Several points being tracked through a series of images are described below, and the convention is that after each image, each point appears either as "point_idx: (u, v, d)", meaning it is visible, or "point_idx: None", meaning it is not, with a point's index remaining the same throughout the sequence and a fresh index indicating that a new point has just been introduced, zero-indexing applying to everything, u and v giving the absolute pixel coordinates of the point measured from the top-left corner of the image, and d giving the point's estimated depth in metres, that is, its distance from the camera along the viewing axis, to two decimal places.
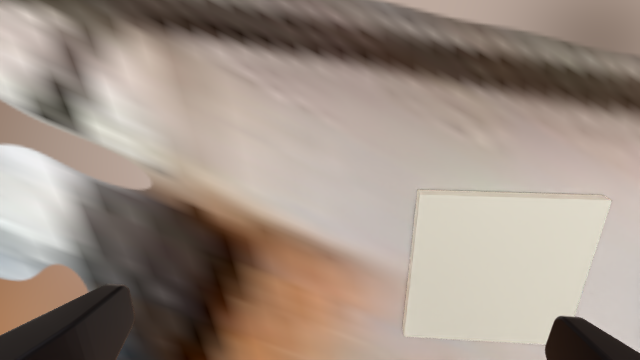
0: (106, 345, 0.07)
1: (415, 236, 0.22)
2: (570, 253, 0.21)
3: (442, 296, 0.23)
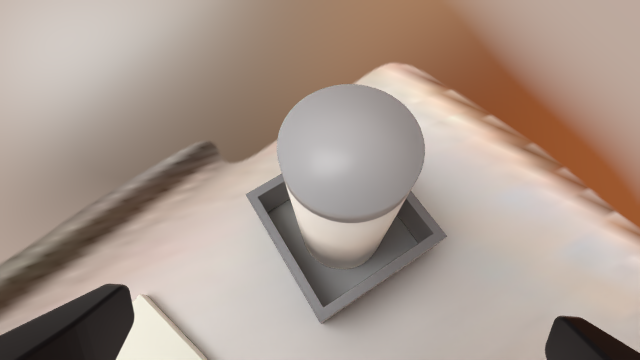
0: (106, 345, 0.07)
1: None
2: None
3: None
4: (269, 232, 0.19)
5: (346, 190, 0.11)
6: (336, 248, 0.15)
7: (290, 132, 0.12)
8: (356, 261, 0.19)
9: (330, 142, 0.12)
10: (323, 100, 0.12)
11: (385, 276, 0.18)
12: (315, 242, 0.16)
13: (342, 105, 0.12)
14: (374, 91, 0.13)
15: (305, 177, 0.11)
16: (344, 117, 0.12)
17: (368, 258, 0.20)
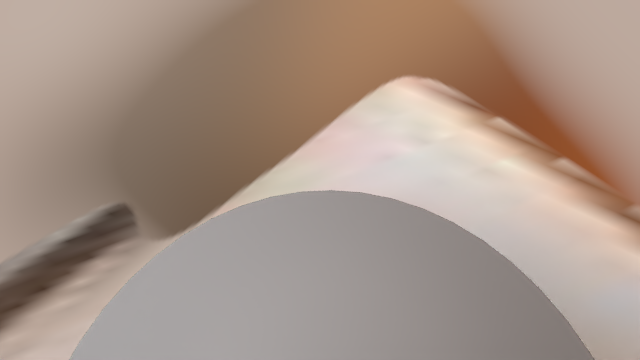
0: None
1: None
2: None
3: None
4: None
5: None
6: None
7: None
8: None
9: None
10: (234, 258, 0.03)
11: None
12: None
13: (303, 278, 0.03)
14: (417, 221, 0.04)
15: None
16: (307, 337, 0.03)
17: None
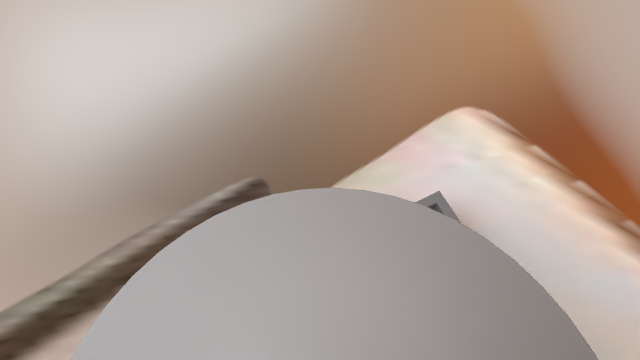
0: None
1: None
2: None
3: None
4: None
5: None
6: None
7: None
8: None
9: None
10: (236, 255, 0.03)
11: None
12: None
13: (306, 275, 0.03)
14: (418, 218, 0.04)
15: None
16: (310, 334, 0.03)
17: None
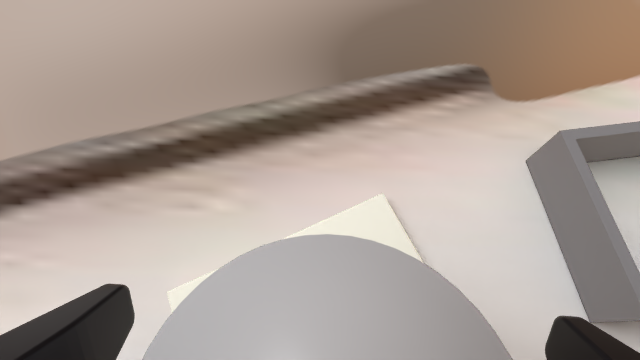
0: (106, 345, 0.07)
1: None
2: None
3: None
4: (586, 185, 0.15)
5: None
6: None
7: None
8: None
9: None
10: (256, 286, 0.05)
11: None
12: None
13: (308, 301, 0.05)
14: (391, 258, 0.05)
15: None
16: (310, 344, 0.04)
17: None
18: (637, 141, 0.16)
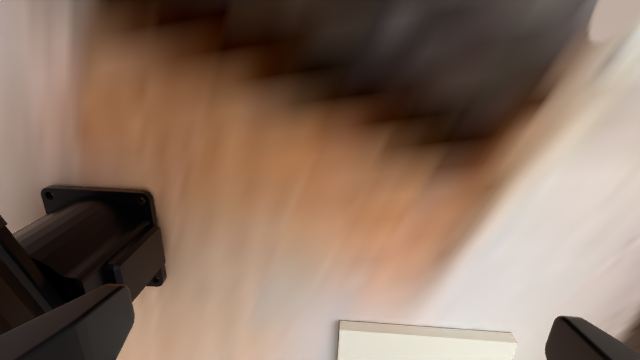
0: (106, 345, 0.07)
1: (469, 338, 0.22)
2: None
3: None
4: None
5: None
6: None
7: None
8: None
9: None
10: None
11: None
12: None
13: None
14: None
15: None
16: None
17: None
18: None
